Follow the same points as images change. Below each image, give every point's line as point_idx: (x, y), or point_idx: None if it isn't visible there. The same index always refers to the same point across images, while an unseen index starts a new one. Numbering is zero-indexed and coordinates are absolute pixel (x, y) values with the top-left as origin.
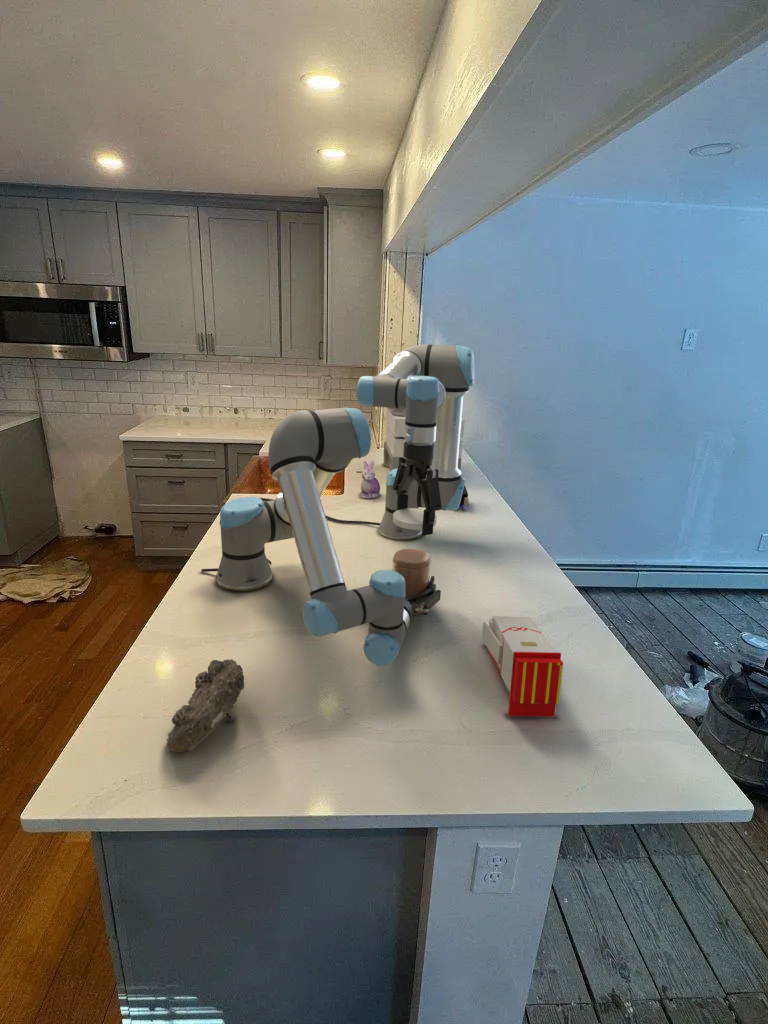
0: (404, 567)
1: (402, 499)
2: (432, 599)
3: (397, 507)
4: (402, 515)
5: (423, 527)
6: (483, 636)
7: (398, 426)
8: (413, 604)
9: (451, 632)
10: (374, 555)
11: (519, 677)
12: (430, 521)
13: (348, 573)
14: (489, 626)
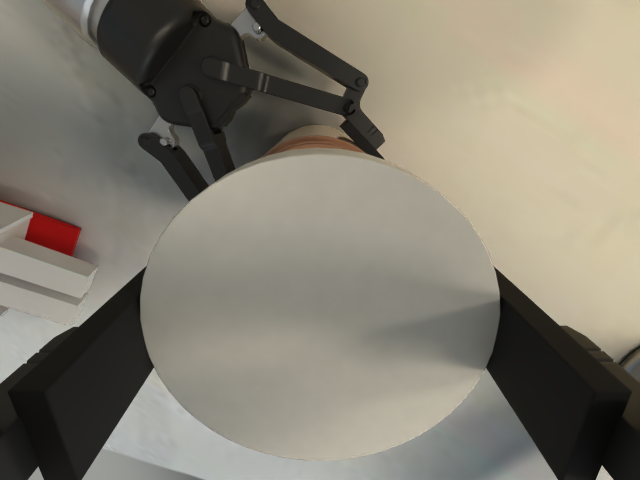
0: (270, 151)
1: (553, 393)
2: (177, 184)
3: (534, 306)
4: (372, 255)
5: (135, 285)
6: (10, 212)
7: None
8: (167, 109)
9: (161, 196)
10: (609, 248)
11: None
12: (48, 347)
13: (571, 118)
14: (88, 265)
